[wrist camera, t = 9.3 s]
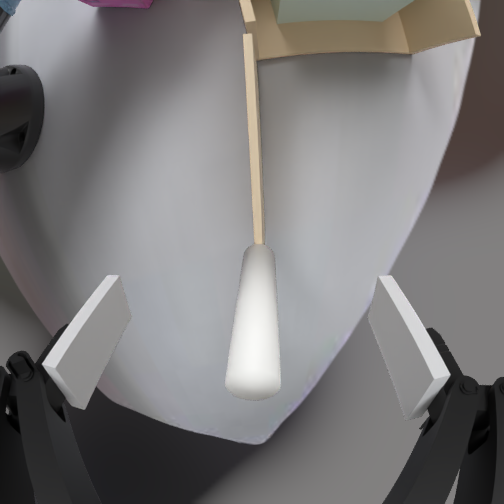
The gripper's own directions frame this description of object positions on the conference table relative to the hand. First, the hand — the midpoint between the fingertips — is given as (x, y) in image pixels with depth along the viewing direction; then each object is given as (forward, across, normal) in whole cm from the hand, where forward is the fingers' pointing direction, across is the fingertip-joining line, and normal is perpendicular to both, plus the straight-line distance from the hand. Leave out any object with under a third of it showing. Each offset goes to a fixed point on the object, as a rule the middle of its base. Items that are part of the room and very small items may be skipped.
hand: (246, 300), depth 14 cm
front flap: (+17, 0, +5) cm, 18 cm away
